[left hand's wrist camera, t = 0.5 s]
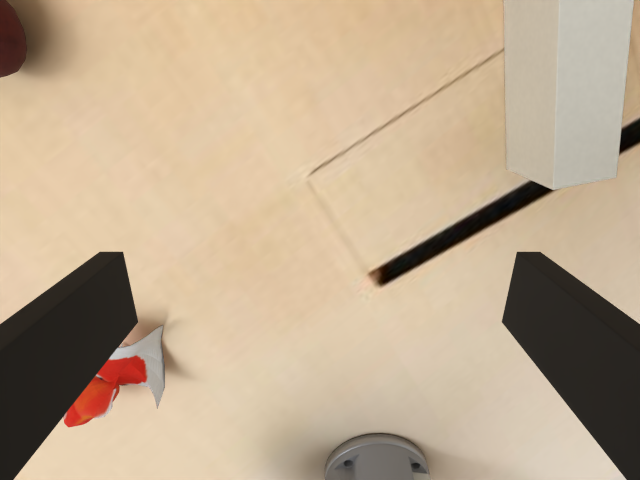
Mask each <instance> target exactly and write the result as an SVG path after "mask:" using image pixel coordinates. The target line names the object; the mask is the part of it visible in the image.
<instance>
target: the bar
mask: <svg viewBox="0 0 640 480" xmlns="http://www.w3.org/2000/svg"><path fill="white" fill-rule="evenodd" d="M633 5H634V0H504V57H505V118H506V169H507V170H509V171H512V172H514V173H516V174H518V175H521V176H523V177H525V178H527V179H530V180H532V181H534V182H536V183H539V184H541V185H543V186H546V187H548V188H550V189H552V190H555V189H560V188H566V187H571V186H576V185H581V184H586V183H591V182H597V181H602V180H607V179H612V178H616V177H617V167H618V157H619V147H620V136H621V126H622V116H623V106H624V96H625V86H626V76H627V65H628V55H629V45H630V35H631V25H632V15H633Z"/></svg>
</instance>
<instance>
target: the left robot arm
mask: <svg viewBox="0 0 640 480" xmlns="http://www.w3.org/2000/svg"><path fill="white" fill-rule="evenodd" d="M137 323H138V319H137V315H136V310H135V305H134V301H133V296H132V291H131V287H130V282H129V278H128V273H127V268H126V264H125V259H124V254H123V252H99V253H98V254H96V255H95V256H94V257H92V258H91V259H89V260H88V261H87V262H85V263H84V264H83V265H81V266H80V267H78V268H77V269H76V270H74V271H73V272H72V273H70V274H69V275H67V276H66V277H65V278H63V279H62V280H61V281H59V282H58V283H56V284H55V285H54V286H52V287H51V288H50V289H48V290H47V291H45V292H44V293H43V294H41V295H40V296H39V297H37V298H36V299H34V300H33V301H32V302H30V303H29V304H27V305H26V306H25V307H23V308H22V309H21V310H19V311H18V312H16V313H15V314H14V315H12V316H11V317H10V318H8V319H7V320H5V321H4V322H3V323H1V324H0V480H13V479H14V478H15V477H16V476H17V474H18V473H19V472H20V471H21V469H22V468H23V467H24V465H25V464H26V463H27V462H28V460H29V459H30V458H31V457H32V455H33V454H34V453H35V452H36V450H37V449H38V448H39V446H40V445H41V444H42V443H43V441H44V440H45V439H46V438H47V436H48V435H49V434H50V433H51V431H52V430H53V429H54V428H55V426H56V425H57V424H58V422H59V421H60V420H61V419H62V417H63V416H64V415H65V414H66V412H67V411H68V410H69V409H70V407H71V406H72V405H73V404H74V402H75V401H76V400H77V398H78V397H79V396H80V395H81V393H82V392H83V391H84V390H85V388H86V387H87V386H88V385H89V383H90V382H91V381H92V380H93V378H94V377H95V376H96V374H97V373H98V372H99V371H100V369H101V368H102V367H103V366H104V364H105V363H106V362H107V361H108V359H109V358H110V357H111V356H112V354H113V353H114V352H115V350H116V349H117V348H118V347H119V345H120V344H121V343H122V342H123V340H124V339H125V338H126V337H127V335H128V334H129V333H130V331H131V330H132V329H133V328H134V326H135V325H136V324H137ZM502 323H503V324H504V325H505V326H506V328H507V329H508V330H509V331H510V333H511V334H512V335H513V337H514V338H515V339H516V340H517V342H518V343H519V344H520V345H521V347H522V348H523V349H524V350H525V352H526V353H527V354H528V356H529V357H530V358H531V359H532V361H533V362H534V363H535V364H536V366H537V367H538V368H539V369H540V371H541V372H542V373H543V374H544V376H545V377H546V378H547V380H548V381H549V382H550V383H551V385H552V386H553V387H554V388H555V390H556V391H557V392H558V393H559V395H560V396H561V397H562V398H563V400H564V401H565V402H566V404H567V405H568V406H569V407H570V409H571V410H572V411H573V412H574V414H575V415H576V416H577V417H578V419H579V420H580V421H581V422H582V424H583V425H584V426H585V428H586V429H587V430H588V431H589V433H590V434H591V435H592V436H593V438H594V439H595V440H596V441H597V443H598V444H599V445H600V447H601V448H602V449H603V450H604V452H605V453H606V454H607V455H608V457H609V458H610V459H611V460H612V462H613V463H614V464H615V465H616V467H617V468H618V469H619V471H620V472H621V473H622V474H623V476H624V477H625V478H626V479H627V480H640V324H639V323H637V322H636V321H635V320H633V319H632V318H630V317H629V316H628V315H626V314H625V313H624V312H622V311H621V310H619V309H618V308H617V307H615V306H614V305H613V304H611V303H610V302H608V301H607V300H606V299H604V298H603V297H601V296H600V295H599V294H597V293H596V292H595V291H593V290H592V289H590V288H589V287H588V286H586V285H585V284H584V283H582V282H581V281H579V280H578V279H577V278H575V277H574V276H573V275H571V274H570V273H568V272H567V271H566V270H564V269H563V268H562V267H560V266H559V265H557V264H556V263H555V262H553V261H552V260H551V259H549V258H548V257H546V256H545V255H544V254H542V253H541V252H517V254H516V259H515V264H514V268H513V273H512V278H511V282H510V287H509V291H508V296H507V301H506V305H505V310H504V315H503V319H502ZM325 480H431V478H430V475H429V470H428V466H427V463H426V459H425V457H424V455H423V453H422V452H421V451H420V449H419V448H418V447H417V446H415V445H414V444H413V443H411V442H409V441H408V440H406V439H403V438H400V437H397V436H393V435H387V434H371V435H364V436H360V437H356V438H354V439H351V440H349V441H347V442H345V443H343V444H342V445H340V446H339V447H338V448H336V449H335V450H334V451H333V452H332V454H331V455H330V456H329V458H328V460H327V462H326V466H325Z"/></svg>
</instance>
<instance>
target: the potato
mask: <svg viewBox="0 0 640 480" xmlns="http://www.w3.org/2000/svg"><path fill="white" fill-rule="evenodd" d="M26 51H27V46H26V40H25V33H24V30H23V27H22V25H21V23H20V21H19V18H18V16H17V14H16V12H15V10H14V9H13V7H12V6H11V5H10V4H9V3H8V2H7V1H6V0H0V77H4V76H8V75H10V74H13V73H15V72H17V71H18V70H19V68H20V67H21V65H22V64H23V62H24V61H25V58H26Z"/></svg>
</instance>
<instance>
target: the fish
mask: <svg viewBox="0 0 640 480" xmlns="http://www.w3.org/2000/svg"><path fill="white" fill-rule="evenodd" d="M162 331H163V325H162V326H160V327H158V328H156V329H155V330H154V331H152V332H151V333H150V334H149V335H147V336H146V337H144V338H143V339H141V340H140V341H138V342H136V343H134V344H133V345H131V346H126V347H122V345H121V347H118V348H117V349H116V350H115V352H114V353H113V354H112V356H111V357H110V358H109V359H108V361H107V362H106V363H105V364H104V366H103V367H102V368H101V369H100V371H99V372H98V373H97V374H96V376H95V377H94V378H93V380H92V381H91V382H90V383H89V385H88V386H87V387H86V388H85V390H84V391H83V392H82V393H81V395H80V396H79V397H78V398H77V400H76V401H75V402H74V404H73V405H72V406H71V407H70V409H69V410H68V411H67V412H66V414H65V415H64V416H63V418H64V423H65V424H66V425H67V426H68V427H73V426H78V425H83V424H85V423H87V422H89V421H90V420H91V419H92V418H101V417H104V416H106V415H107V414H108V413H109V411H110V410H111V408H112V402H113V401H114V400H115V398H116V396H117V395H118V393H119V385H136V384H137V385H141V386H146V387H149V388H150V389H151V391H152V393H153V394H154V397H155V401H156V404H157V409H158V406H159V403H160V400H161V397H162V394H163V391H164V388H165V365H164V358H163V351H162V344H161V337H162Z"/></svg>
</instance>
